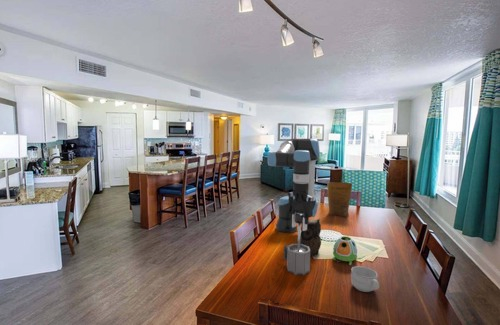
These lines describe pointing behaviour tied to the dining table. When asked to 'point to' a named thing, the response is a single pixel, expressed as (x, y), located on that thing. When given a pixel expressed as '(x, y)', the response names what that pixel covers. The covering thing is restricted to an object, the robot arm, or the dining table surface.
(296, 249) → the plunger
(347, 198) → the pancake mix bag
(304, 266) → the press carafe
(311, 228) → the owl
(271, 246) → the dining table surface
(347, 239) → the turtle holder
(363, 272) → the teacup
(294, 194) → the robot arm
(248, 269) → the dining table surface
